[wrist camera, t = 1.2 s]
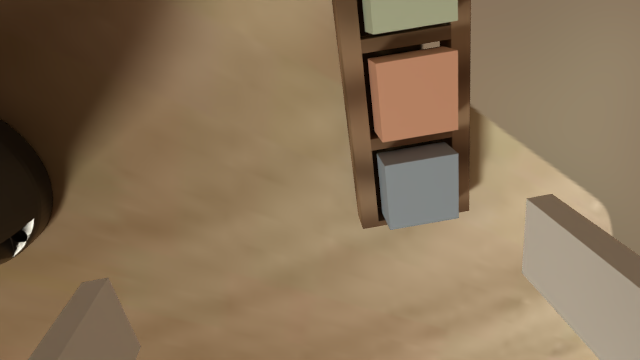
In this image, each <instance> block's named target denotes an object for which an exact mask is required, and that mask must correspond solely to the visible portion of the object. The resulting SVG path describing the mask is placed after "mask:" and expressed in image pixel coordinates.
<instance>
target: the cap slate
mask: <svg viewBox="0 0 640 360" xmlns="http://www.w3.org/2000/svg"><path fill="white" fill-rule="evenodd" d="M377 162H378V173H379V183H380V194H381V204H382V214H383V216H384V218H385V220H386V222H387V224H388V226H389V228H390V230H393V229H399V228H404V227H410V226H416V225H422V224H428V223H433V222H439V221H445V220H451V219H456V218H459V172H458V153H457V152H456V151H455V150H454V149H453V148H451V147H450V146H449V145H448V144H447V143H446V142H440V143H434V144H428V145H422V146H416V147H410V148H405V149H399V150H393V151H387V152H381V153H377Z"/></svg>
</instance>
